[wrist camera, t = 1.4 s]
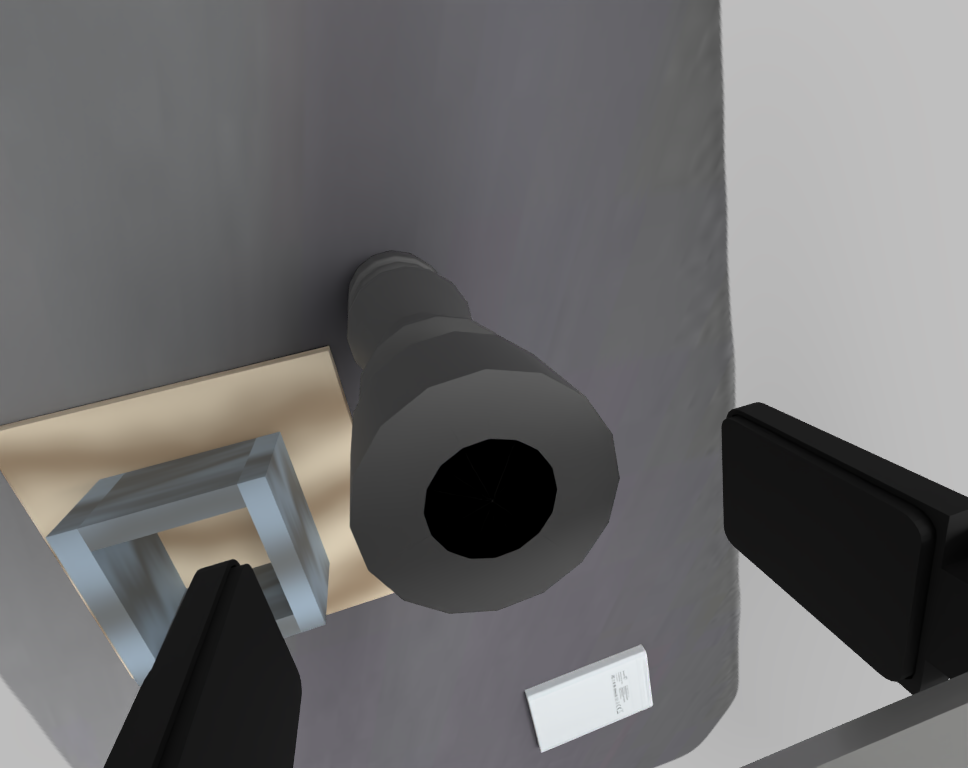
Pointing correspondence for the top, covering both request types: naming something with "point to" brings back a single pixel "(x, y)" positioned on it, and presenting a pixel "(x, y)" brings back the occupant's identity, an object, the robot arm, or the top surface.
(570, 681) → the external hard drive
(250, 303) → the top surface
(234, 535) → the socket board
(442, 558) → the candle holder
